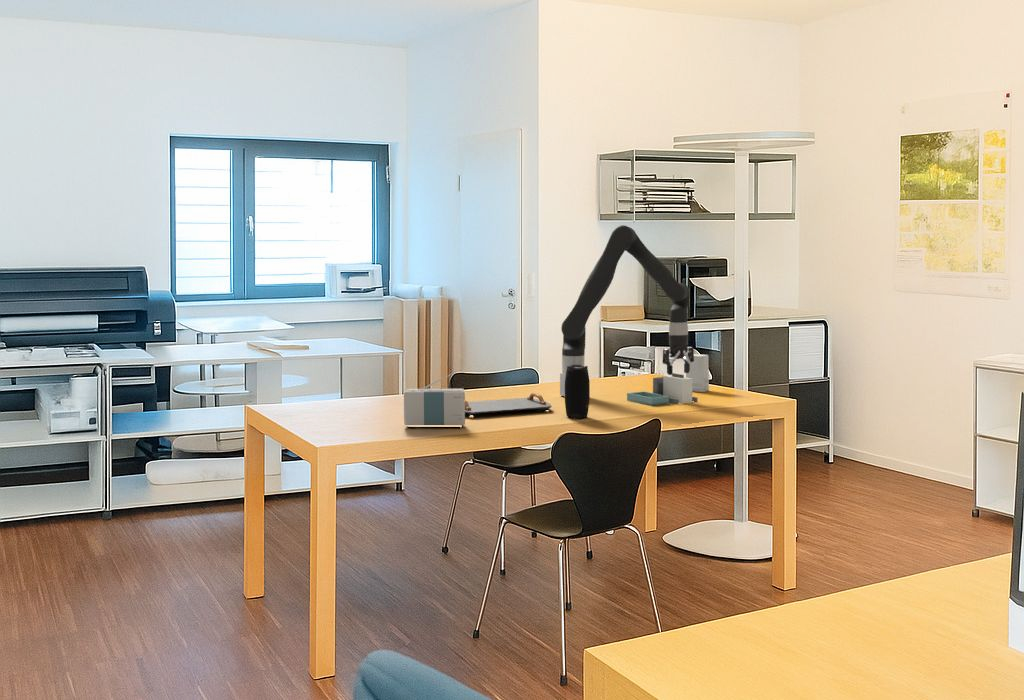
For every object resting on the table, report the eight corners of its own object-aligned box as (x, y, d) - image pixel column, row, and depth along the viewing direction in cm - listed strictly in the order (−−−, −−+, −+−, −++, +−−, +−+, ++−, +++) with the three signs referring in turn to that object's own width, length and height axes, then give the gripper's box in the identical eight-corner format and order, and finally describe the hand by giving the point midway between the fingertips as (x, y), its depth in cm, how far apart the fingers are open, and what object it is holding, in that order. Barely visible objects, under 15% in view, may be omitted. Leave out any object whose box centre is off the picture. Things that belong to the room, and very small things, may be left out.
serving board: (464, 420, 374) (464, 404, 373) (441, 411, 395) (441, 395, 394) (559, 413, 390) (559, 397, 389) (532, 404, 411) (532, 388, 410)
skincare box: (709, 390, 443) (709, 354, 441) (703, 392, 438) (704, 356, 436) (690, 389, 448) (691, 353, 446) (684, 391, 442) (685, 355, 440)
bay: (676, 404, 406) (677, 382, 405) (652, 399, 419) (653, 377, 418) (697, 402, 411) (697, 380, 411) (673, 397, 424) (673, 375, 423)
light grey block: (682, 404, 408) (682, 376, 406) (662, 400, 418) (663, 372, 417) (692, 403, 410) (692, 375, 409) (672, 399, 420) (672, 372, 419)
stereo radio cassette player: (403, 429, 355) (403, 372, 353) (406, 425, 364) (405, 368, 361) (464, 429, 355) (464, 371, 353) (465, 425, 364) (465, 368, 361)
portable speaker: (593, 417, 377) (594, 366, 375) (573, 420, 372) (573, 367, 370) (580, 414, 384) (580, 363, 382) (560, 416, 379) (560, 365, 377)
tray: (651, 405, 404) (651, 398, 403) (627, 400, 417) (627, 393, 417) (669, 403, 408) (669, 396, 408) (644, 398, 422) (644, 391, 421)
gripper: (686, 331, 418) (685, 371, 420) (658, 333, 411) (658, 374, 412) (698, 333, 411) (698, 373, 413) (670, 335, 404) (670, 376, 406)
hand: (678, 373), depth 413 cm, fingers open, 8 cm apart
